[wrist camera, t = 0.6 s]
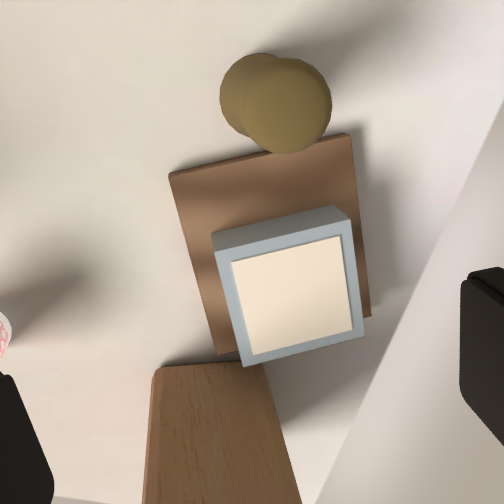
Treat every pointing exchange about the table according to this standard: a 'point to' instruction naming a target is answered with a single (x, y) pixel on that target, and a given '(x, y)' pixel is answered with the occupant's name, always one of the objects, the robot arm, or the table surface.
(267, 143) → the olive pawn
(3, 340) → the beverage cup
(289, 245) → the slate plinth
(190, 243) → the brown board
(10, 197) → the table surface
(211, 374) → the block
